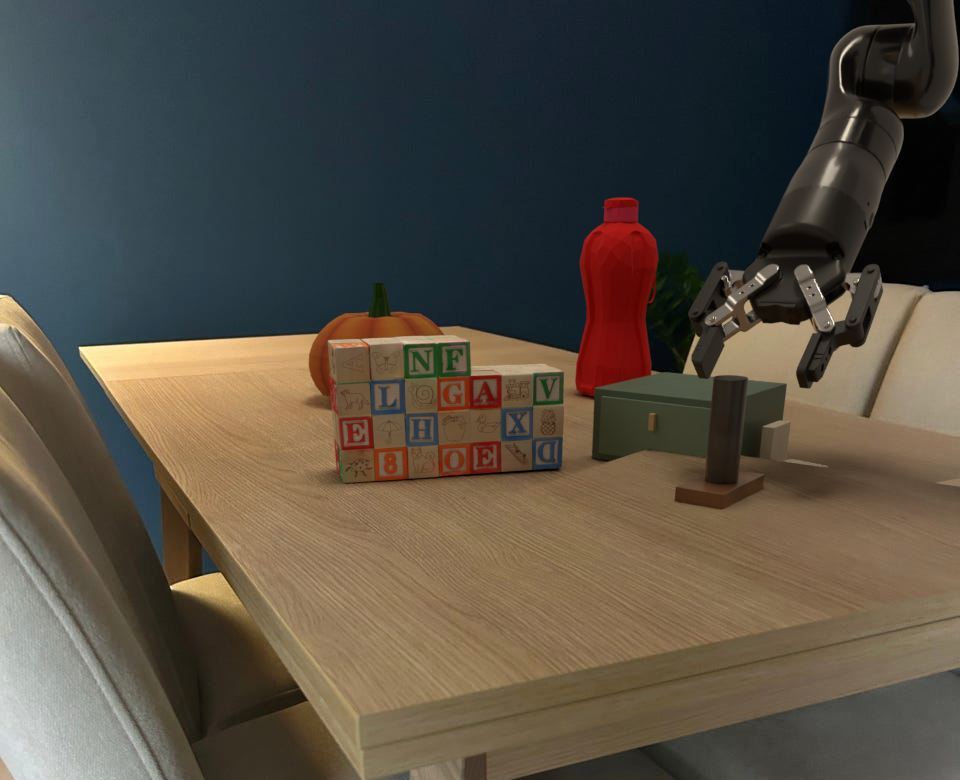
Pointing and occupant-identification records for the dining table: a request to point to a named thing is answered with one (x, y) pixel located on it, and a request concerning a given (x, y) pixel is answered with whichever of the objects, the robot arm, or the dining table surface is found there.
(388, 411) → the stack of blocks
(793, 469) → the dining table surface
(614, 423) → the cabinet
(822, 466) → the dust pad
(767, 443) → the block
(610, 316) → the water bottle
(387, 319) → the pumpkin
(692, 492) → the brush
